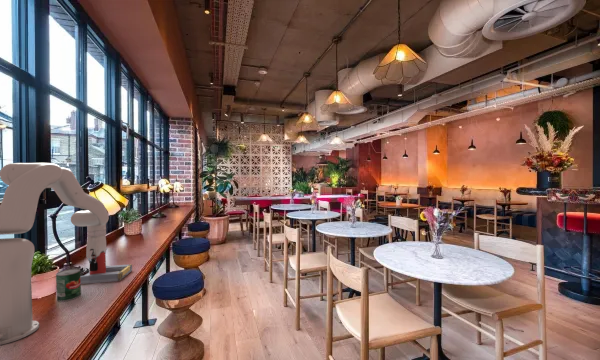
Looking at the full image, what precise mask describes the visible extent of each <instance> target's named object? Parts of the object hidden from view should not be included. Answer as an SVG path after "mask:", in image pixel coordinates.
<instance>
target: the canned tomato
mask: <svg viewBox="0 0 600 360" xmlns="http://www.w3.org/2000/svg"><path fill="white" fill-rule="evenodd" d="M80 276H81V269H80V268H69V269H65V270H61V271H58V272H56V274H55V281H56V286H55V287H56V301H58V302H67V301H72V300H74V299H76V298H79V297H80V296H82V293H81V292H82V286H81V285H82V284H81V281H80Z"/></svg>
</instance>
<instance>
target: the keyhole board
mask: <svg viewBox="0 0 600 360" xmlns="http://www.w3.org/2000/svg"><path fill="white" fill-rule="evenodd" d="M88 269H89V272H87V273H86V274H84V275H80V281H81V285H83V284H96V283H97V284H98V283H108V282H121V280H123V279H124V278H126V276H128V275H129V274H130V273H131V272H133V264H131V263H130V264H118V265H115V264H114V265H106V273H99V274H92V275H90V267H89V268H88Z"/></svg>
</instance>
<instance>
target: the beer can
mask: <svg viewBox="0 0 600 360" xmlns="http://www.w3.org/2000/svg"><path fill="white" fill-rule="evenodd" d="M93 256H95V255H93ZM106 257H107V256H106V254H105V252H104V251H103V252H101V253H100V256H98V257H97V262H98V270H97V271H90V275H92V274H99V273H106V266H107V260H106ZM93 259H94V260H95V258H93Z"/></svg>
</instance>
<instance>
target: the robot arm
mask: <svg viewBox="0 0 600 360" xmlns="http://www.w3.org/2000/svg"><path fill="white" fill-rule="evenodd" d="M0 180H1V181H2V182H3V183H4V184H5V185H8V186H7V188H5V191H4V193H3V197H2V200H1V204H0V235H19V234H24V233H27V232H29V231H30V230H31V229H32V228H33V226H34V222H35V219H36V214H37V213H36V212H37V210H38V209H37V208H38V204H39V199H40V196H41V194H42V192H43V191H44V190H45V189H53V191H54V192H55V194H56V195H57V197H58V198H59V200H60V201H61V202H62V203H63V204H65V205H67V206H69V207H74V208H78V209H82V210H78V211H75V212H74V213H73V214H72V215H71V217H70V222H71V223H72V225H73V226H75V227H87V229H86V230H87V232H86V233H87V240H86V250H85V251H86V252H85V253H86V254H85V255H86V258H87V260H88V264H89V268H90V271H97V270H98V262H97V257H98V256H100V253H101V252H103V251H104V252H105V255H106V253H107V237H106V235H107V223H108V221H109V216H110V215H109V213H108V210H107V208H106V207H105V205H104V203H103V202H102V201H101V200H99V199H98V198H96V197H94V196H92V195H91V194H88V193H87V192H85V190H83V187H82V185H81V184H80V182H79V181H78V179H77V178H76V176H75V175H74V173H73V171H72V170H71V169H70V168H67V167H61V166H60V165H58V164H56V163H52V162H13V163H8V164H5V165H4V166H3V167H1V169H0ZM34 255H35V245H34V243H33V242H32V241H31V240H29V239H26V238H20V237H18V238H17V237H14V238H13V237H11V238H0V346H1V345H6V344H10V343H13V342H15V341H18V340H21V339H23V338H25V337H27V336H29V335H32V334H33V333H35V332H36V331H37V330H38V329H39V328H40V322H39V321H37V320H33V319H34V318H33V297H32V296H33V293H32V292H33V291H32V265H33V260H34ZM93 255H95V256H93ZM93 258H95V260H94V259H93Z"/></svg>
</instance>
